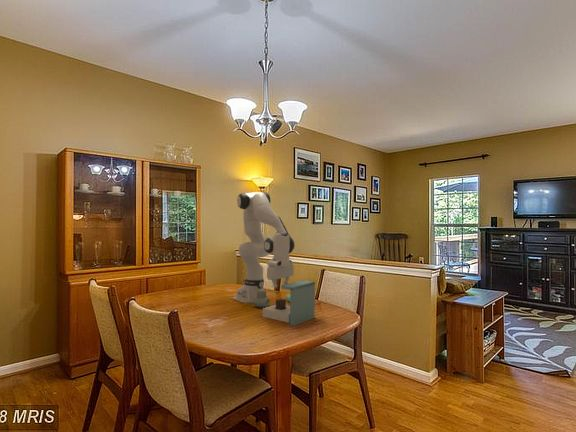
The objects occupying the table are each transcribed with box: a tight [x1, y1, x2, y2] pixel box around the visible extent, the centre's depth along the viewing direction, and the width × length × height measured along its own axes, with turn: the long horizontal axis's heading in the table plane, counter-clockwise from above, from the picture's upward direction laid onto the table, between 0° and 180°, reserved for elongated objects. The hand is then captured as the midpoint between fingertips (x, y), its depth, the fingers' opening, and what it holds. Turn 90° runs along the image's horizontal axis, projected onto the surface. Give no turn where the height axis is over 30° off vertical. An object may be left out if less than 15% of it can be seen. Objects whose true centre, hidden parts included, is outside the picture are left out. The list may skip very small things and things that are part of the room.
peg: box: [275, 298, 287, 310], centre depth 191 cm, size 4×4×9 cm
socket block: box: [262, 304, 290, 324], centre depth 190 cm, size 18×14×4 cm
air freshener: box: [252, 289, 271, 309], centre depth 212 cm, size 11×8×10 cm
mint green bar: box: [285, 293, 290, 303], centre depth 218 cm, size 6×6×25 cm
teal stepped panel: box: [280, 280, 316, 327], centre depth 184 cm, size 8×20×20 cm, turn 143°
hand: (280, 285), depth 192 cm, fingers open, 8 cm apart
